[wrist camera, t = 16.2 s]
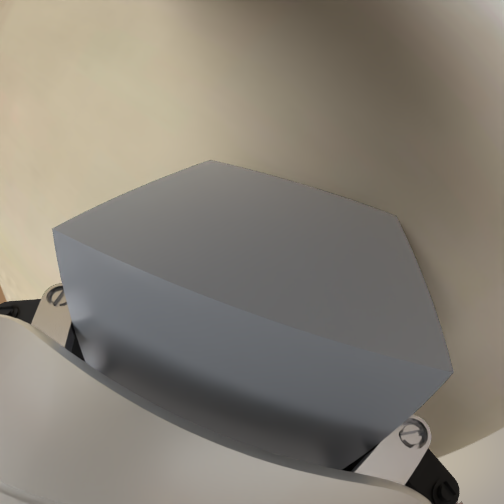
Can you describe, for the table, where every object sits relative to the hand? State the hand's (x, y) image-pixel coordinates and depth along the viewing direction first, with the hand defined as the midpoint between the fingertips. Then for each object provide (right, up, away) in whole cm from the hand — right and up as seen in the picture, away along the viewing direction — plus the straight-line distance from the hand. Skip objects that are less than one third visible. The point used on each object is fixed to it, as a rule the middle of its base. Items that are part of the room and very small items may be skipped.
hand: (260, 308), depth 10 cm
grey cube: (+1, +1, +2) cm, 3 cm away
